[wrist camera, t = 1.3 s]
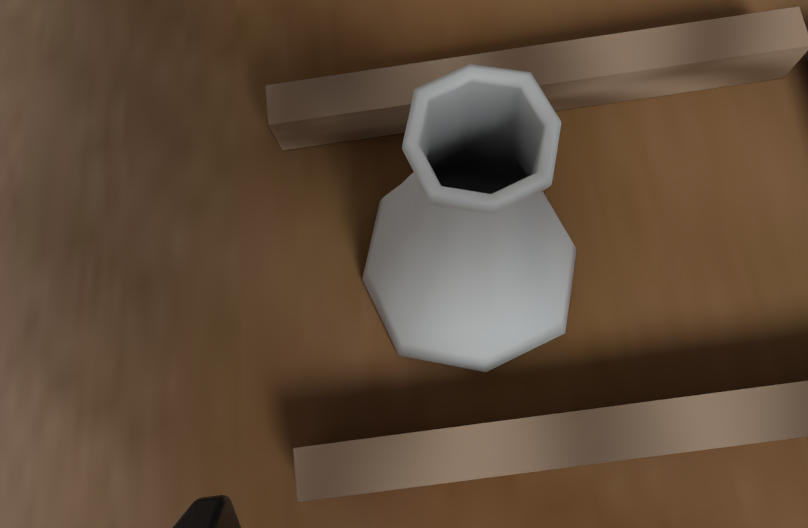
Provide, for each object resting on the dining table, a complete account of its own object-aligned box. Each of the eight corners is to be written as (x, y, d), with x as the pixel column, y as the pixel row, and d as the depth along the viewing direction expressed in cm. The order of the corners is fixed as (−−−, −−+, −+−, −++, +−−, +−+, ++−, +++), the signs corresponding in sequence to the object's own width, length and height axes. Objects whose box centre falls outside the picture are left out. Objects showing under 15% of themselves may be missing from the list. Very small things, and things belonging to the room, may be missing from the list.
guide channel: (772, 41, 25) (799, 6, 23) (892, 423, 21) (936, 419, 19) (279, 113, 25) (265, 84, 23) (311, 497, 21) (297, 502, 20)
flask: (375, 388, 22) (317, 335, 13) (352, 183, 24) (288, 5, 15) (597, 358, 22) (709, 283, 13) (555, 154, 24) (624, -46, 15)
